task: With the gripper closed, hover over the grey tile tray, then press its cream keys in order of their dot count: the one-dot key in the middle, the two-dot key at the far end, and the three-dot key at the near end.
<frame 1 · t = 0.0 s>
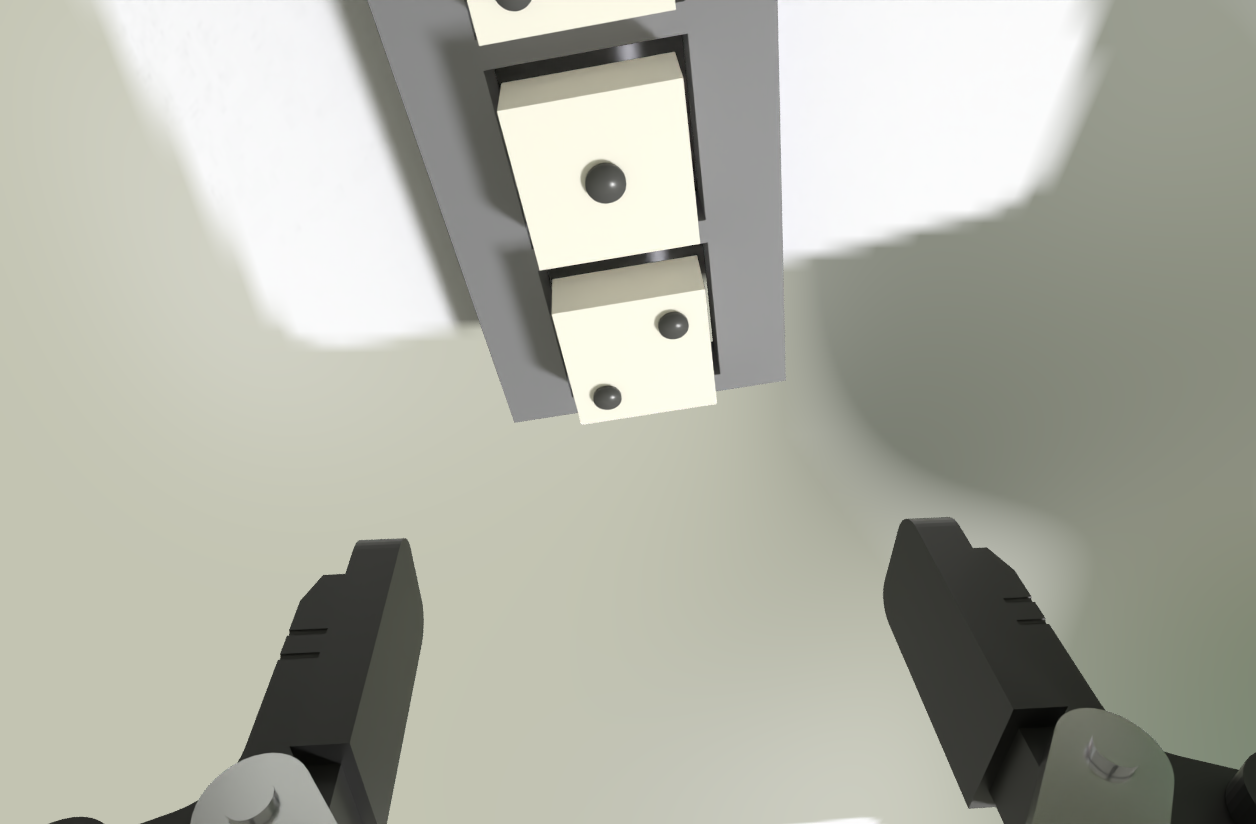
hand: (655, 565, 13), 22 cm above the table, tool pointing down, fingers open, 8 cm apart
tile one: (604, 167, 28), point 4 cm above the table, slide at 0.0 cm
grey tile tray: (600, 123, 30), on the table
tile two: (637, 344, 33), point 4 cm above the table, slide at 0.0 cm
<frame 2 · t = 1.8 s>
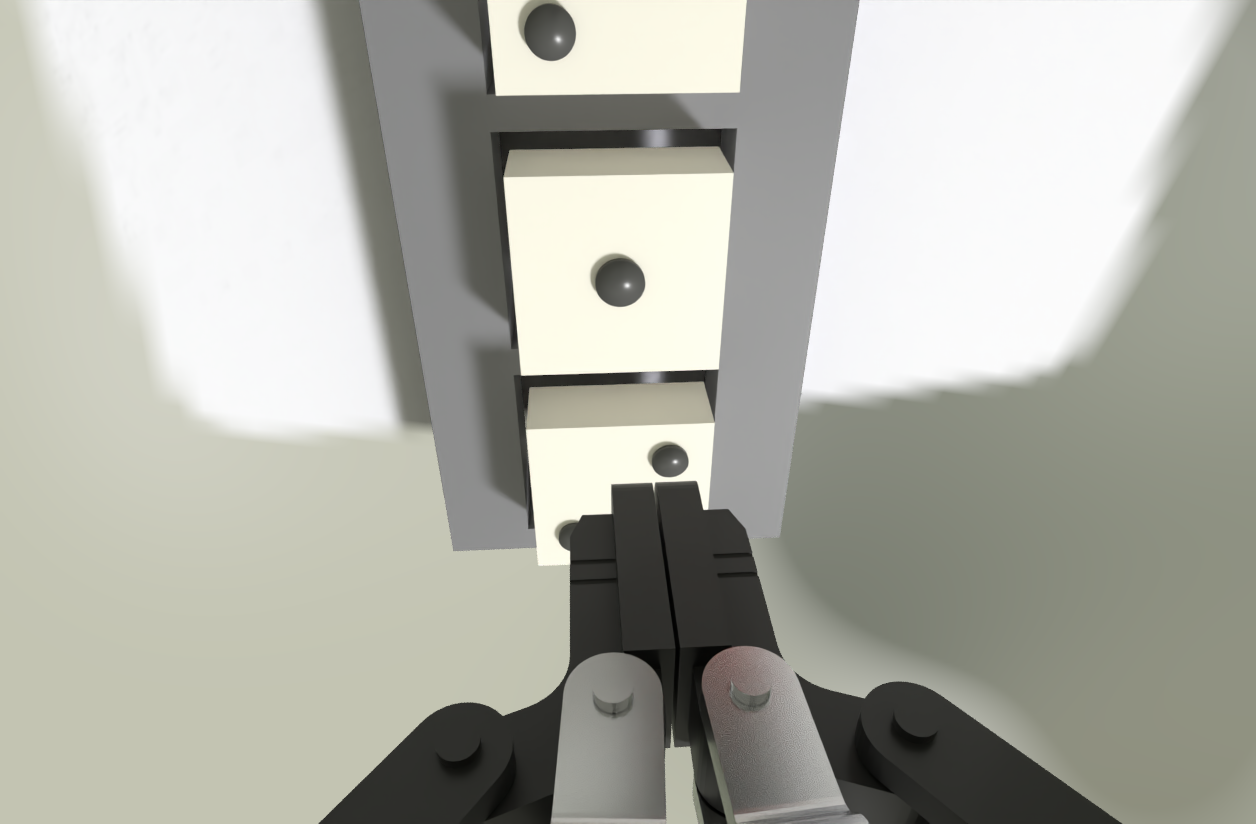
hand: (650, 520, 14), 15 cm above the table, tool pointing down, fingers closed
tile one: (617, 264, 23), point 4 cm above the table, slide at 0.0 cm
grey tile tray: (612, 218, 26), on the table
tile two: (619, 477, 27), point 4 cm above the table, slide at 0.0 cm
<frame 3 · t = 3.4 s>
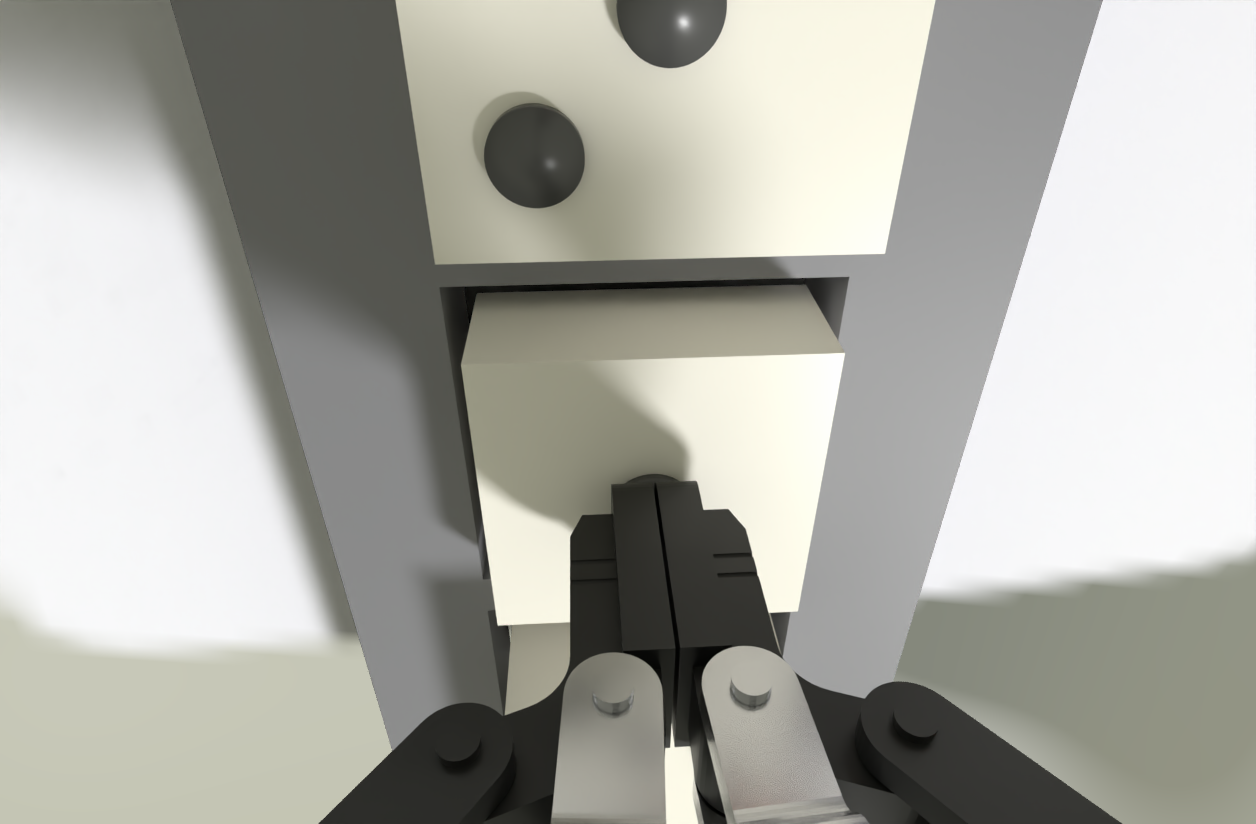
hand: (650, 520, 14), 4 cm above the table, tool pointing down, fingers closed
tile one: (646, 464, 15), point 3 cm above the table, slide at 0.8 cm, touching gripper
grey tile tray: (635, 378, 17), on the table
tile two: (644, 746, 19), point 4 cm above the table, slide at 0.0 cm
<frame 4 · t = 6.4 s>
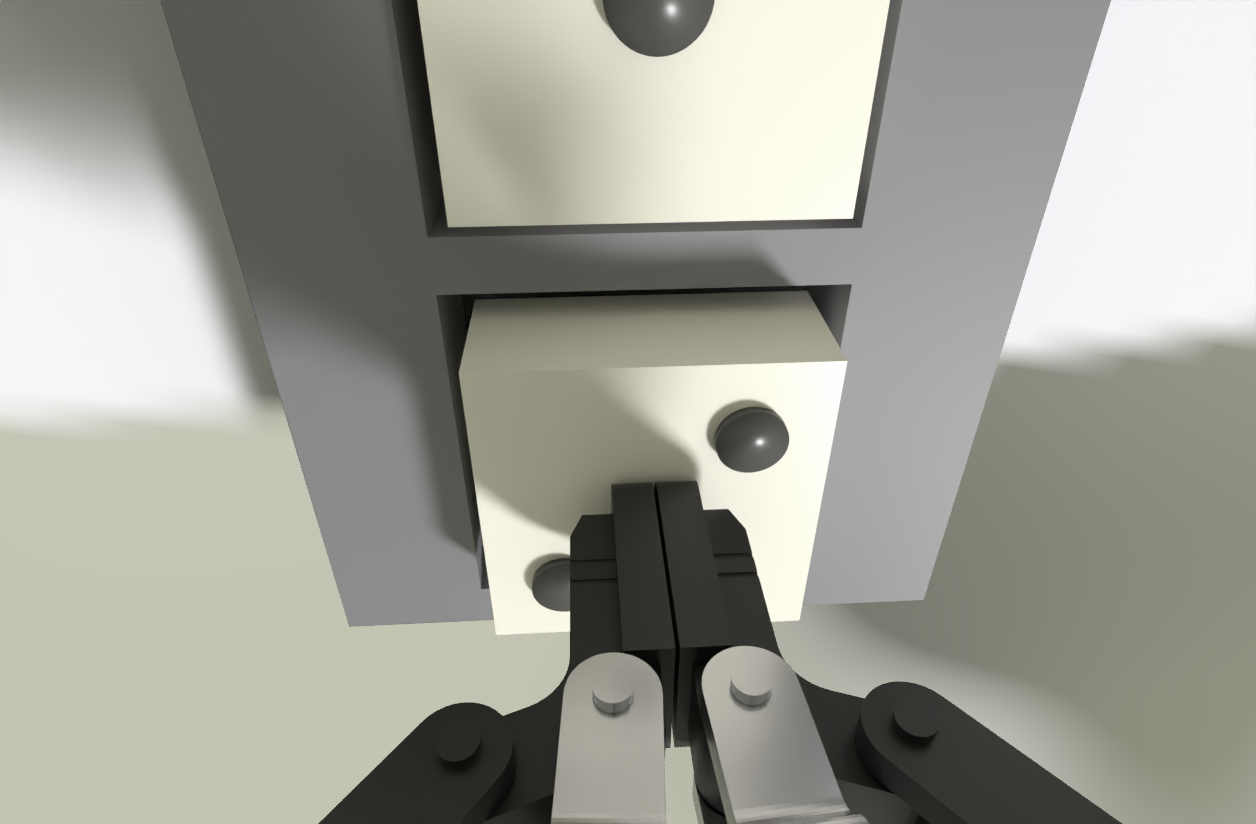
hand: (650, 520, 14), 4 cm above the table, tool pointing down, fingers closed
tile two: (646, 472, 15), point 3 cm above the table, slide at 0.8 cm, touching gripper
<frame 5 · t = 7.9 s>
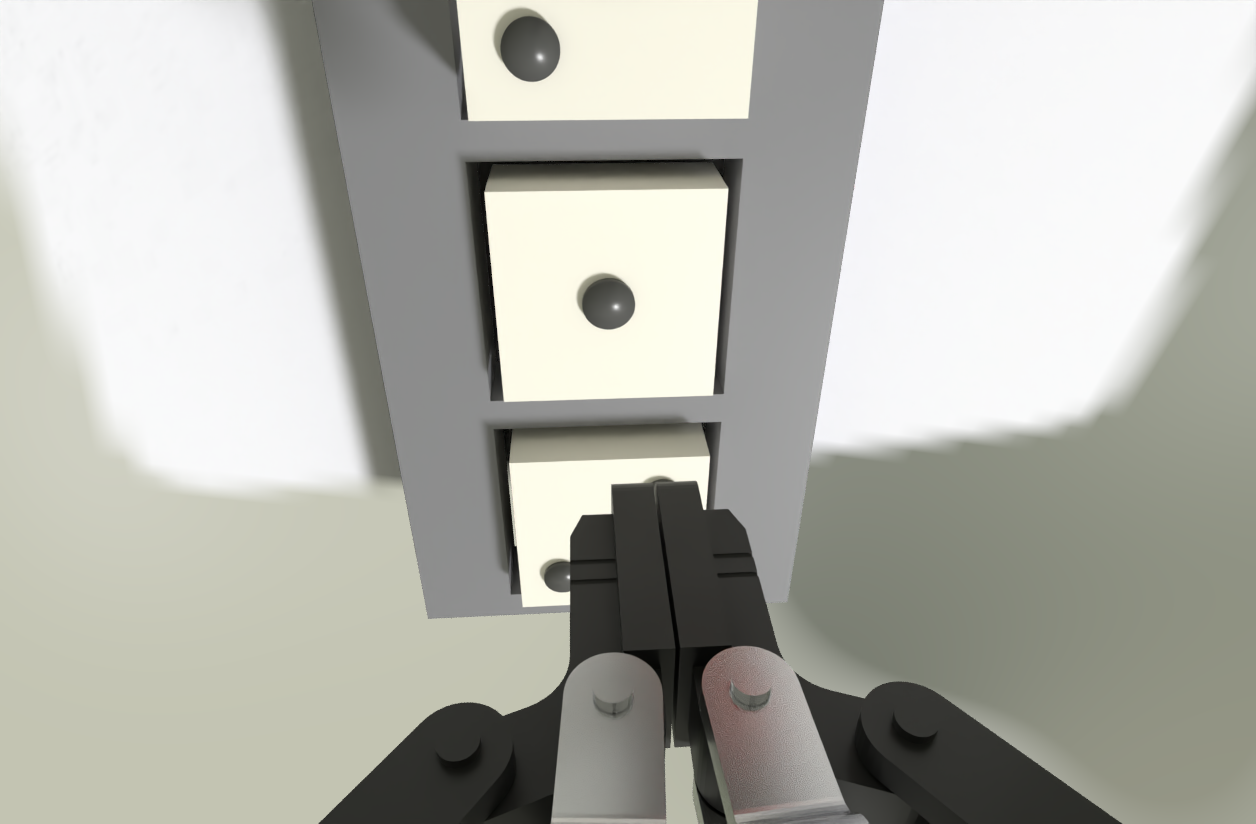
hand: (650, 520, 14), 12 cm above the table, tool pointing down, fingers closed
tile one: (606, 285, 22), point 2 cm above the table, slide at 1.6 cm
grey tile tray: (603, 256, 24), on the table
tile two: (609, 512, 26), point 2 cm above the table, slide at 1.4 cm
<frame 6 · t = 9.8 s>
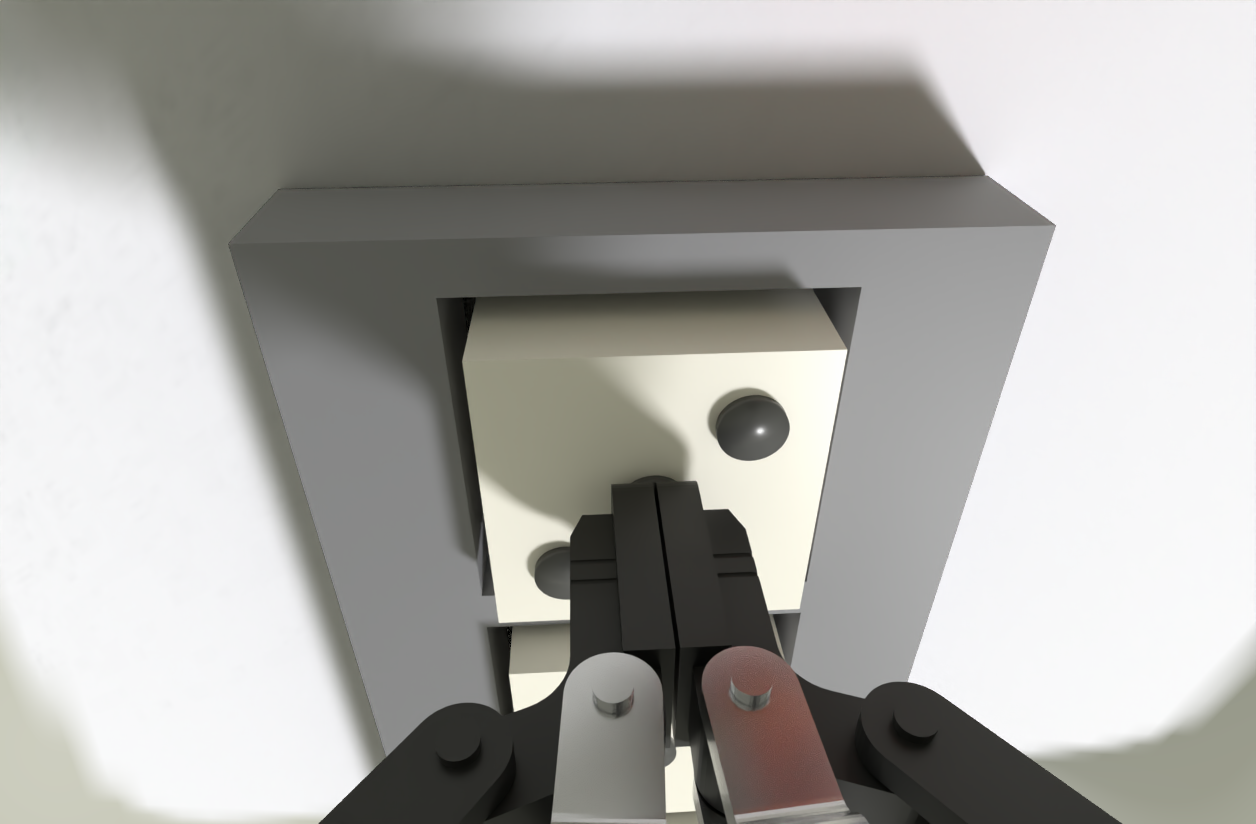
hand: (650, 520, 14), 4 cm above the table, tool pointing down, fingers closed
tile one: (642, 705, 20), point 2 cm above the table, slide at 1.6 cm
tile three: (648, 461, 15), point 3 cm above the table, slide at 1.3 cm, touching gripper
grey tile tray: (636, 633, 21), on the table
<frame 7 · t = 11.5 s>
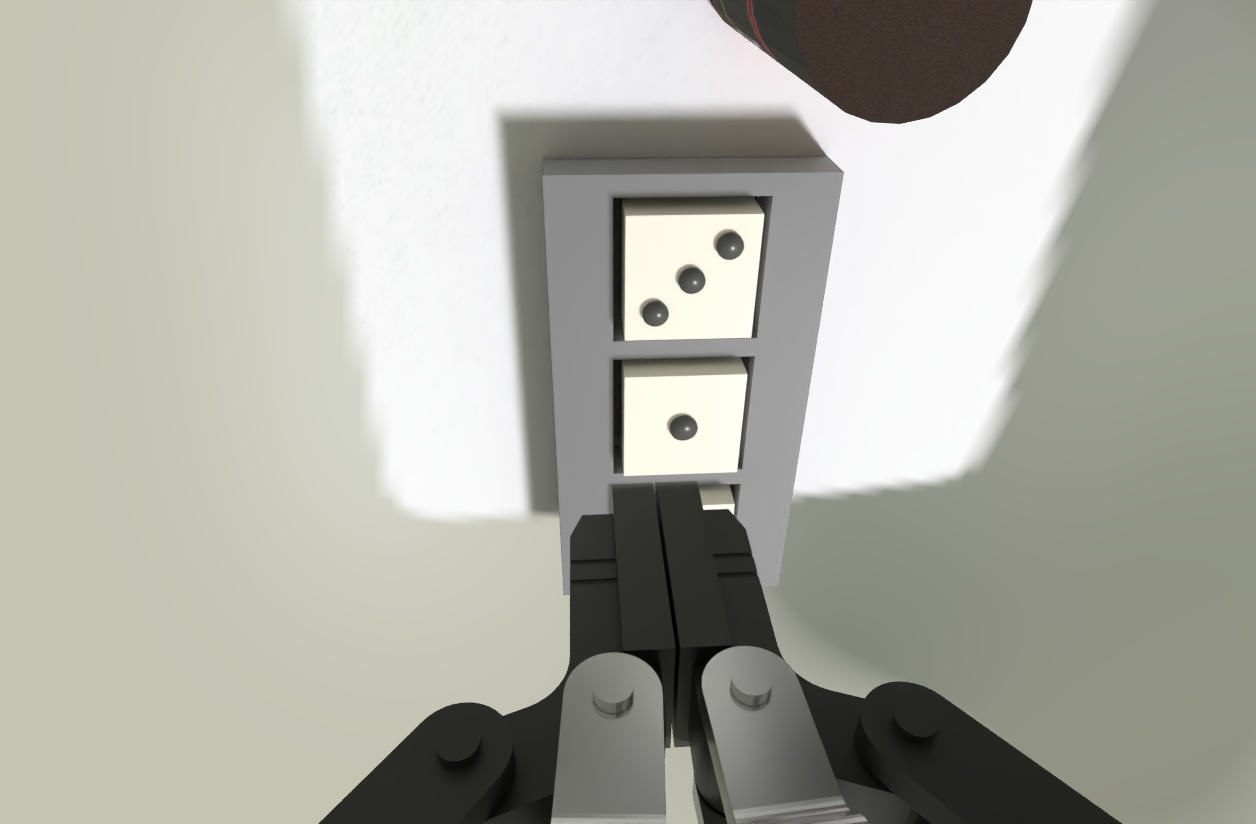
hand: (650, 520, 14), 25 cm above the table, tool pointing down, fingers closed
tile one: (680, 414, 40), point 2 cm above the table, slide at 1.6 cm
tile three: (688, 269, 36), point 2 cm above the table, slide at 1.6 cm
grey tile tray: (675, 391, 42), on the table
tile two: (674, 533, 45), point 2 cm above the table, slide at 1.4 cm
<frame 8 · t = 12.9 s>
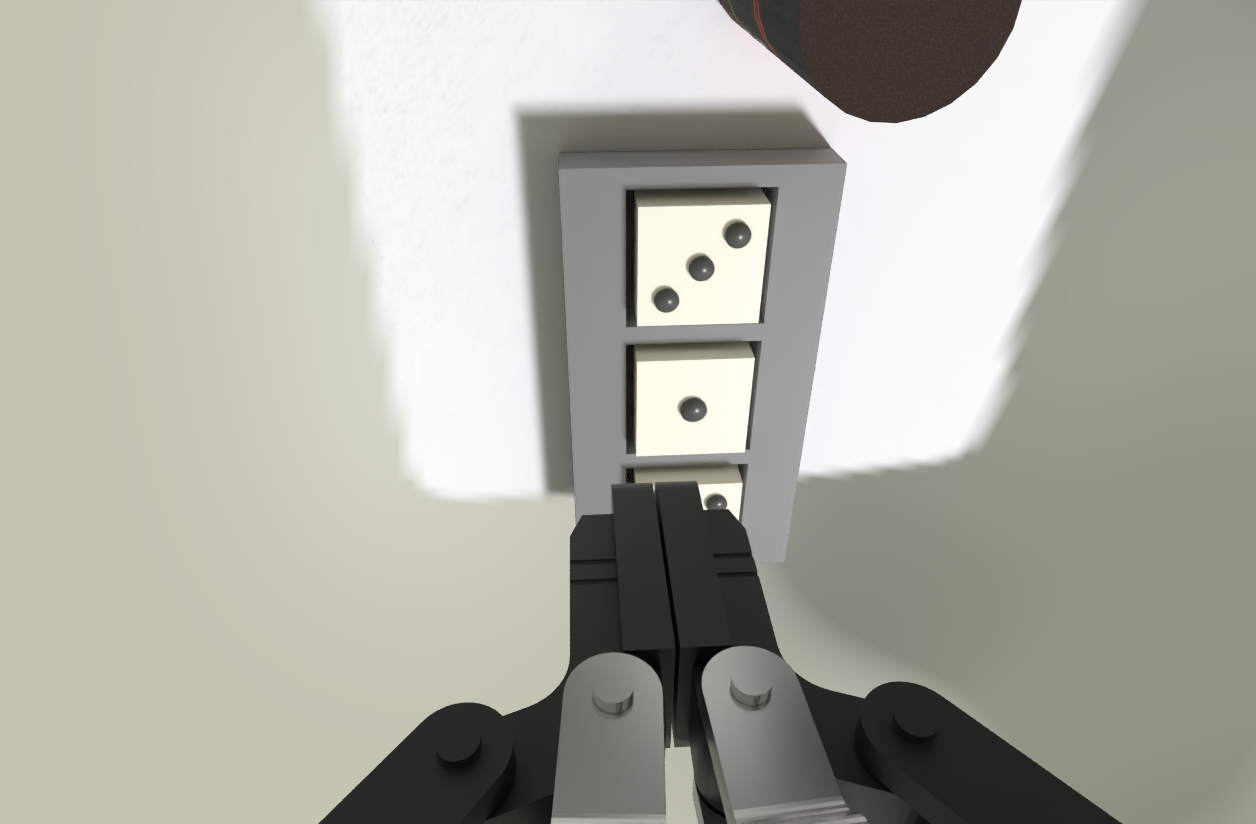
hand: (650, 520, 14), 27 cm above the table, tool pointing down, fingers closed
tile one: (690, 397, 42), point 2 cm above the table, slide at 1.6 cm
tile three: (697, 258, 38), point 2 cm above the table, slide at 1.6 cm
grey tile tray: (685, 375, 44), on the table
tile two: (685, 511, 46), point 2 cm above the table, slide at 1.4 cm
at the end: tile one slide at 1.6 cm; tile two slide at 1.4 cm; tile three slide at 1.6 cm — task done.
